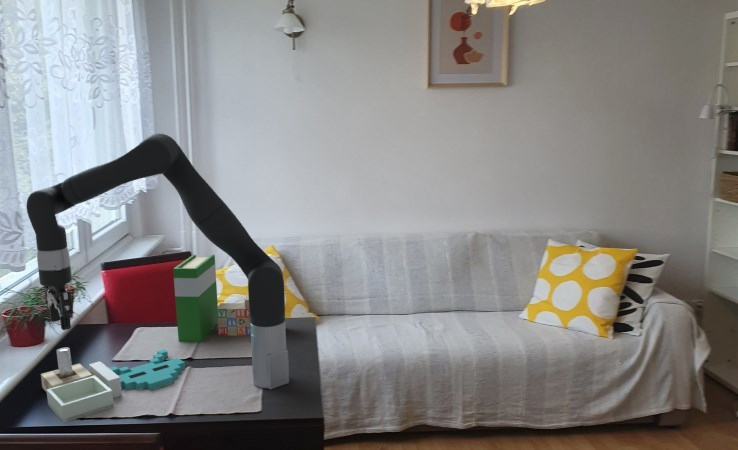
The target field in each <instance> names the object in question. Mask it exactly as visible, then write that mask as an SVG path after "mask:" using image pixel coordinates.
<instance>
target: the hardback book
mask: <svg viewBox="0 0 738 450" xmlns="http://www.w3.org/2000/svg"><path fill="white" fill-rule="evenodd" d="M215 258H216V256H215V254H211V255H210V256H209V257H208V256H197V255H196V254H192V255H191V256H189V257H188V258H186V259H185V260H183V261H182V262H180V264H178V265H176V266H175V267H174V268H173V270H172V271H173V272H172V273H173V283H174V284H173V285H174V297H175V299H174V300H175V311H176V324H177V327H176V328H177V337H178V338H177V339H178V342H179V343H180V342H183V343H184V342H186V343H202V342H204V340H205V339H206V337H208V335H210V334H211V332H212V331H213V330H214V329H215V327H217V326H218V318H217V308H218V307H219V304H218V302H219V301H218V292H217V291H218V290H217V289H218V286H217V274H216V272H217V271H216V259H215Z"/></svg>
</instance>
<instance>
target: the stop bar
mask: <svg viewBox="0 0 738 450" xmlns="http://www.w3.org/2000/svg"><path fill="white" fill-rule="evenodd" d="M88 367H89V372H90V373H91V374H92V376H96V377H97V378H98V379H99V380H101V381H102V382H103V383H104V384H105V385H106V386H108V387H109V388H110V389H111V390H112V394H113V399H114V398H117V397H120V396H122V394H123V393H122V388H121V382H120V377H119V376H118V375H117V374H115V373H114V372H113V371H112V370H110V369H109V368H110V367H108V366H107V365H105V364H104V363H103V362H101V361H95V362H93V363H89V365H88Z"/></svg>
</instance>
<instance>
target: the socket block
mask: <svg viewBox="0 0 738 450" xmlns="http://www.w3.org/2000/svg"><path fill="white" fill-rule="evenodd" d="M72 371H73V376H70V377H67V378H63V379H60V374H59V368H58V369H55V370H51V371H47V372H43V373H40V378H41V379H40V381H41V388H42V389H43V390H44V391H45V392H46V393H47V389H50V388H53V387H57V386H60V385H64V384H67V383H71V382H74V381H78V380H81V379H85V378H88V377H91V376H92V374H91V373H90V370H88V369H86V368H85V367H84V366H83V365H82V364H81V363H76V364H72Z"/></svg>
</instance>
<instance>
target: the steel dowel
mask: <svg viewBox="0 0 738 450" xmlns="http://www.w3.org/2000/svg"><path fill="white" fill-rule="evenodd" d="M56 356H57V357H56V359H57V365H58V367H57V368H58V369H59V374H60V379H63V378H67V377H70V376H73V371H72V365H73V364H72V356H71V350H70V347H61V348H58V349H56Z"/></svg>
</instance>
